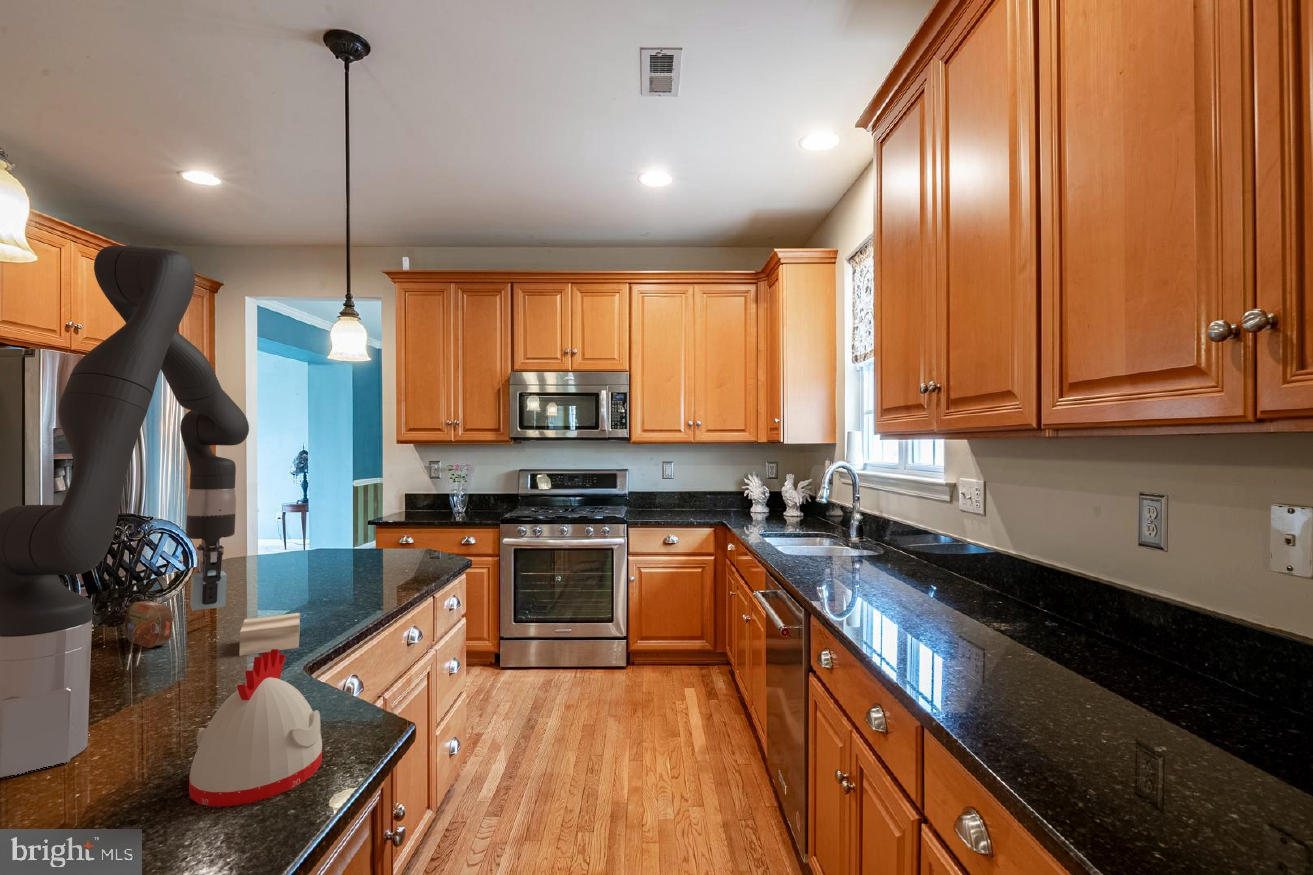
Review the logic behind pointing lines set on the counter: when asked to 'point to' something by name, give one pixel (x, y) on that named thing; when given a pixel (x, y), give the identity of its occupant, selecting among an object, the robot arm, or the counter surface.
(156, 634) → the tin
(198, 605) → the blue-gray block
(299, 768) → the kitchen timer
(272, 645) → the birch block
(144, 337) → the robot arm
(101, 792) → the counter surface
